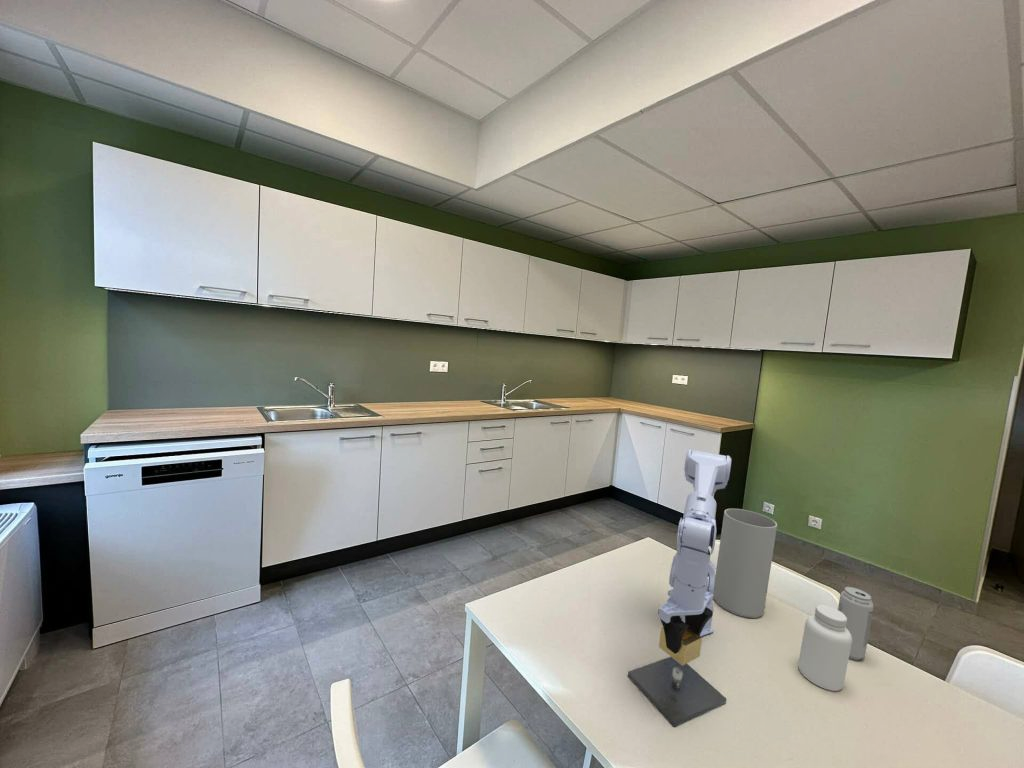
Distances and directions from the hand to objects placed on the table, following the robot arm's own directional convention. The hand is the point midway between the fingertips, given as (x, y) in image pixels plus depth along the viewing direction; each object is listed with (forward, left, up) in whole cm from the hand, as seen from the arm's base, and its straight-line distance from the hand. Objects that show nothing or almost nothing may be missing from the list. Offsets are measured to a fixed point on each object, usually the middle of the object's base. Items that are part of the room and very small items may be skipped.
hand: (681, 645), depth 80 cm
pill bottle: (-34, +9, -10) cm, 36 cm away
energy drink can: (-50, +7, -10) cm, 51 cm away
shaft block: (0, 0, -9) cm, 9 cm away
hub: (0, 0, -2) cm, 2 cm away
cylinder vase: (-41, -15, -10) cm, 45 cm away
